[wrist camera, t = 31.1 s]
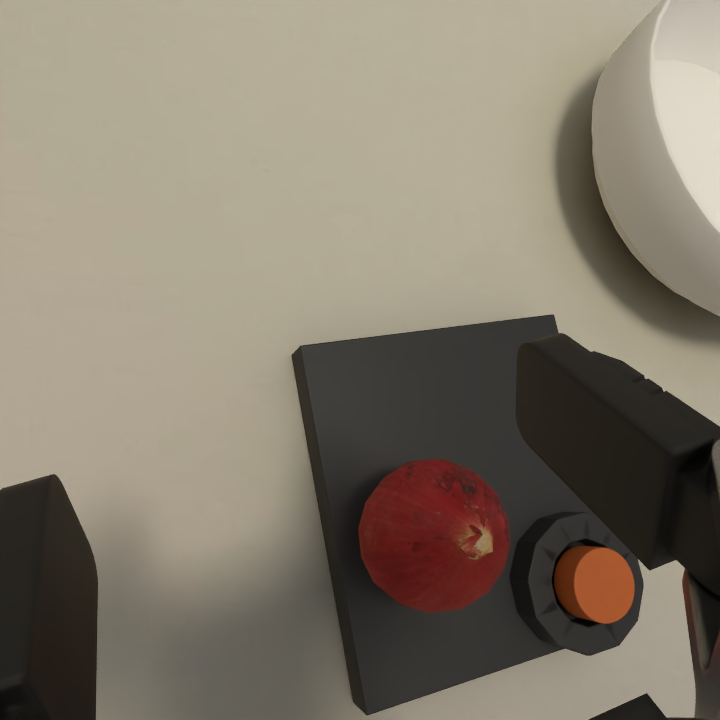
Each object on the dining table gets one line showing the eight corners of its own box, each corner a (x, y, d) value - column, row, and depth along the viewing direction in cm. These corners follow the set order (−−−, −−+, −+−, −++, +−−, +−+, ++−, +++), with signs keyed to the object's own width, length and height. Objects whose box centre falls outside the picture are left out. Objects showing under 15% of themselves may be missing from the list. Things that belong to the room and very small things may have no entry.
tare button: (619, 608, 30) (643, 613, 28) (563, 626, 29) (584, 632, 27) (602, 538, 30) (624, 540, 29) (546, 554, 29) (566, 556, 28)
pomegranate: (358, 447, 29) (431, 428, 21) (469, 486, 30) (574, 480, 23) (321, 577, 27) (384, 605, 20) (440, 613, 28) (543, 652, 21)
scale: (607, 620, 33) (657, 633, 30) (353, 704, 28) (379, 730, 25) (535, 323, 35) (573, 305, 32) (291, 354, 31) (307, 336, 27)
